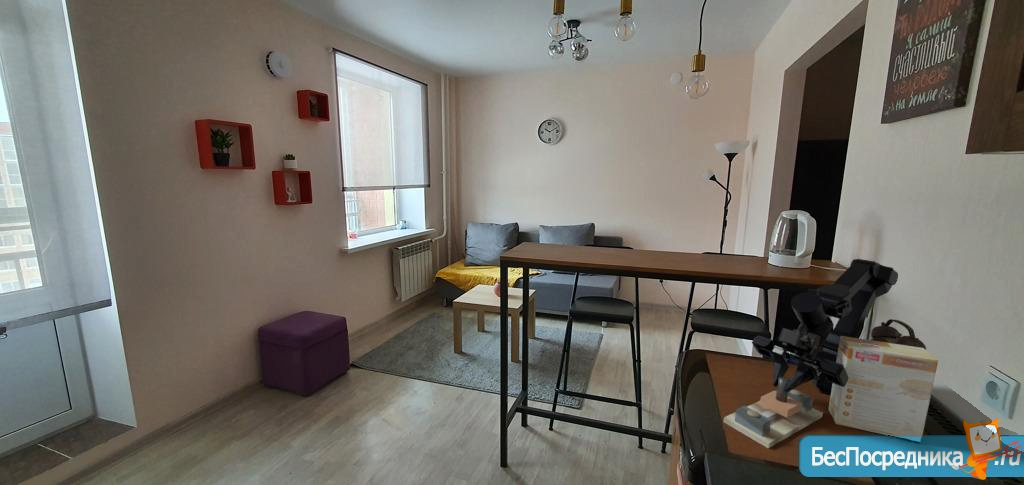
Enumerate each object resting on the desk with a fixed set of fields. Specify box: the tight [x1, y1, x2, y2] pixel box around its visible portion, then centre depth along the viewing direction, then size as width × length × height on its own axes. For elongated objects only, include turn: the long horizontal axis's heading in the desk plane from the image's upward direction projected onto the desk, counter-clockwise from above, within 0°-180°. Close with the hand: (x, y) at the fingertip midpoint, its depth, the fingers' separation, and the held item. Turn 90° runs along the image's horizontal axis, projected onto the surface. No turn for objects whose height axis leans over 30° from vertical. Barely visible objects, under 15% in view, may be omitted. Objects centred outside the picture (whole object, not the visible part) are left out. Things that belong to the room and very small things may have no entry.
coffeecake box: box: [828, 336, 939, 438], centre depth 89 cm, size 15×7×20 cm, turn 64°
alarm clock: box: [870, 318, 927, 350], centre depth 103 cm, size 15×7×20 cm, turn 168°
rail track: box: [723, 388, 824, 449], centre depth 92 cm, size 23×10×4 cm, turn 119°
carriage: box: [759, 376, 802, 418], centre depth 93 cm, size 6×6×7 cm
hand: (779, 388), depth 92 cm, fingers closed on carriage, 2 cm apart
